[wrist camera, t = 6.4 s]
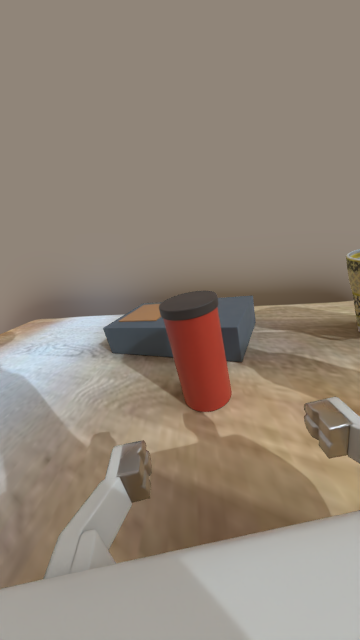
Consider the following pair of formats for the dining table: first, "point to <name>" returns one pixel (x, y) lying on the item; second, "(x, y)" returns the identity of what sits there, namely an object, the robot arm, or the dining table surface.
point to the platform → (151, 336)
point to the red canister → (198, 348)
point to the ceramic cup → (355, 280)
